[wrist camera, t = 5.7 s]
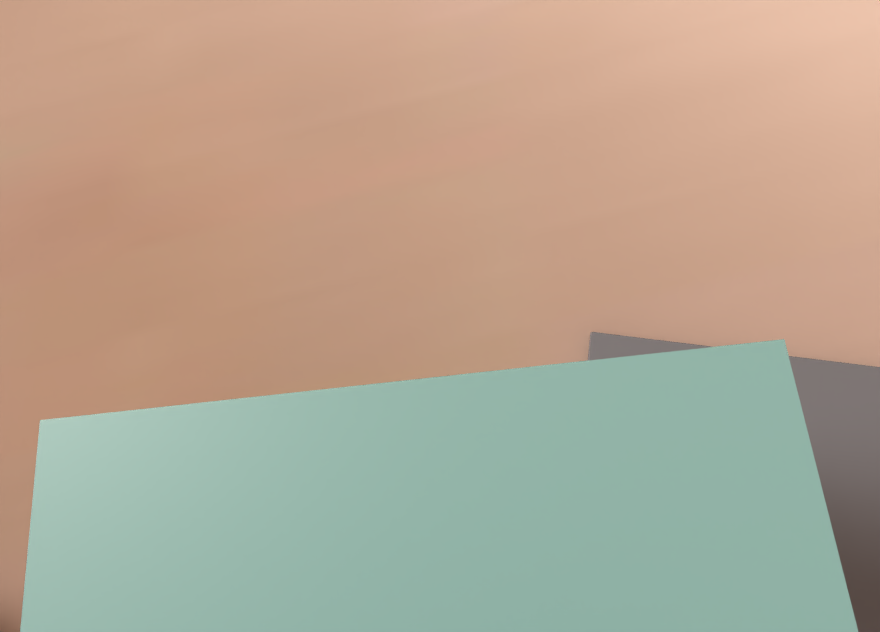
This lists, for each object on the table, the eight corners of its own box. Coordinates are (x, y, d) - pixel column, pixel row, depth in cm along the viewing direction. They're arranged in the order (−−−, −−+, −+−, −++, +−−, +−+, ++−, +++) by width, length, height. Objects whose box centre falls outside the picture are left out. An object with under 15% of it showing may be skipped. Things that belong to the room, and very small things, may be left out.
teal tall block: (606, 611, 14) (1149, 1656, 2) (421, 621, 15) (-59, 1468, 3) (578, 423, 16) (801, 337, 3) (407, 439, 16) (38, 419, 4)
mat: (920, 374, 20) (928, 373, 20) (931, 737, 18) (941, 744, 17) (590, 334, 22) (591, 331, 22) (558, 655, 19) (559, 659, 19)
